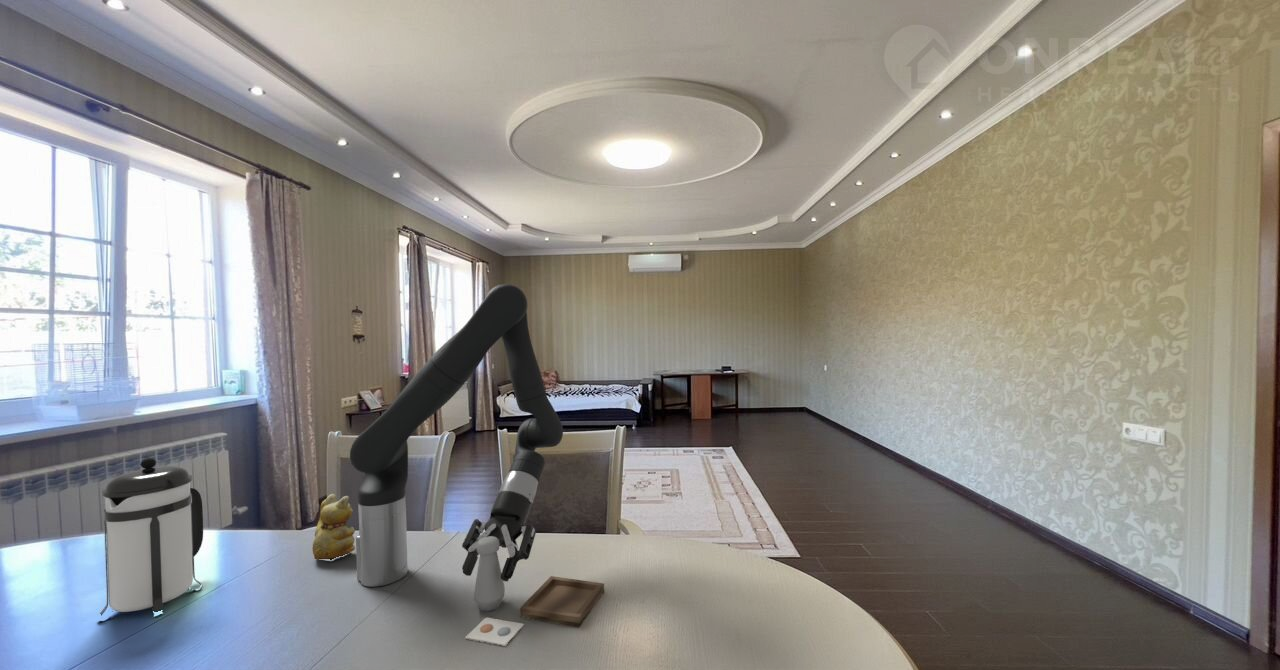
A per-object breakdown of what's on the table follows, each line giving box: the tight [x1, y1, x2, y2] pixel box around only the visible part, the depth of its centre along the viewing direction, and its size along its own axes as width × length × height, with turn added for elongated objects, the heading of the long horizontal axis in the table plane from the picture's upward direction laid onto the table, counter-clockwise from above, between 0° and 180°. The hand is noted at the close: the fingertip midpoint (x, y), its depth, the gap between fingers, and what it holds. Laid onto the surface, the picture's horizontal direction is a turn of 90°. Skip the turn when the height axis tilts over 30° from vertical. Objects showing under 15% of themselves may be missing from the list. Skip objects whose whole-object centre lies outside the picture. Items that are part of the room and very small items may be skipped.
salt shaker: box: [473, 536, 506, 612], centre depth 93 cm, size 6×6×13 cm
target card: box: [464, 617, 525, 647], centre depth 85 cm, size 8×6×1 cm
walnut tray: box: [519, 575, 605, 628], centre depth 93 cm, size 12×12×2 cm
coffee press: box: [99, 457, 204, 616], centre depth 99 cm, size 17×16×30 cm
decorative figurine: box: [312, 493, 356, 561], centre depth 116 cm, size 10×8×15 cm
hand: (484, 577), depth 92 cm, fingers open, 8 cm apart
